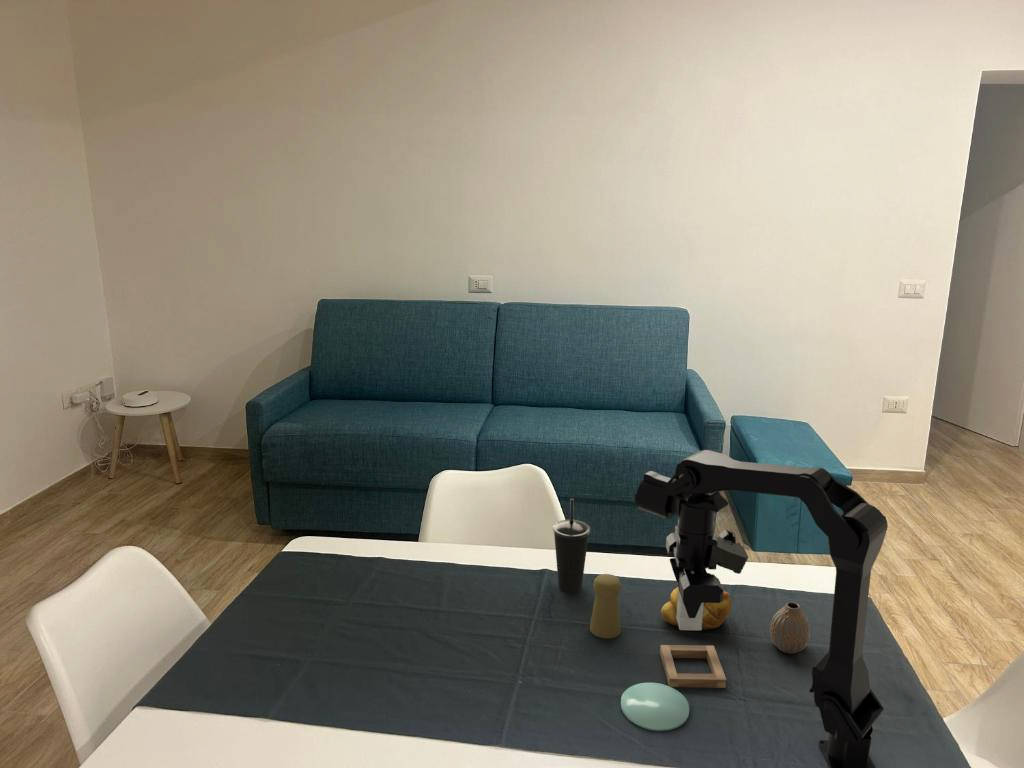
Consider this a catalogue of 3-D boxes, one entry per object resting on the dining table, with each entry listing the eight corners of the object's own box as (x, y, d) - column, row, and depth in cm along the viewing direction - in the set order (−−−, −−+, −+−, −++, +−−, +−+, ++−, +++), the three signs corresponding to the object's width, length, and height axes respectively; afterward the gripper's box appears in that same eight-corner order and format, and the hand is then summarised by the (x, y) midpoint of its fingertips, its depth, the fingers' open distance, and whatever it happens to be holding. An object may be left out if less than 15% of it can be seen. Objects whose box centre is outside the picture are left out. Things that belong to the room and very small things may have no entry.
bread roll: (662, 633, 150) (665, 595, 148) (657, 605, 160) (659, 569, 157) (731, 635, 150) (735, 598, 147) (722, 607, 159) (725, 571, 157)
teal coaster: (695, 731, 125) (695, 728, 125) (624, 730, 125) (625, 727, 125) (682, 685, 135) (682, 682, 135) (617, 685, 136) (617, 682, 135)
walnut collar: (725, 687, 135) (726, 679, 134) (668, 686, 135) (669, 678, 135) (713, 653, 144) (713, 645, 144) (659, 652, 144) (660, 645, 144)
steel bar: (701, 630, 133) (705, 582, 131) (679, 630, 133) (683, 582, 131) (697, 618, 137) (700, 571, 134) (676, 617, 137) (679, 571, 134)
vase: (810, 660, 142) (816, 618, 140) (770, 656, 143) (775, 613, 141) (805, 638, 149) (810, 597, 146) (766, 634, 150) (771, 593, 147)
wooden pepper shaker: (584, 633, 150) (586, 581, 147) (596, 617, 155) (598, 566, 152) (614, 641, 147) (617, 589, 144) (626, 625, 153) (628, 574, 150)
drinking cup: (545, 582, 168) (546, 495, 162) (577, 574, 171) (579, 488, 165) (562, 600, 161) (564, 510, 155) (595, 592, 164) (598, 503, 158)
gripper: (760, 555, 121) (752, 644, 125) (732, 503, 138) (725, 583, 143) (686, 554, 121) (680, 643, 125) (667, 502, 139) (663, 581, 143)
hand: (689, 611), depth 134 cm, fingers closed on steel bar, 4 cm apart
